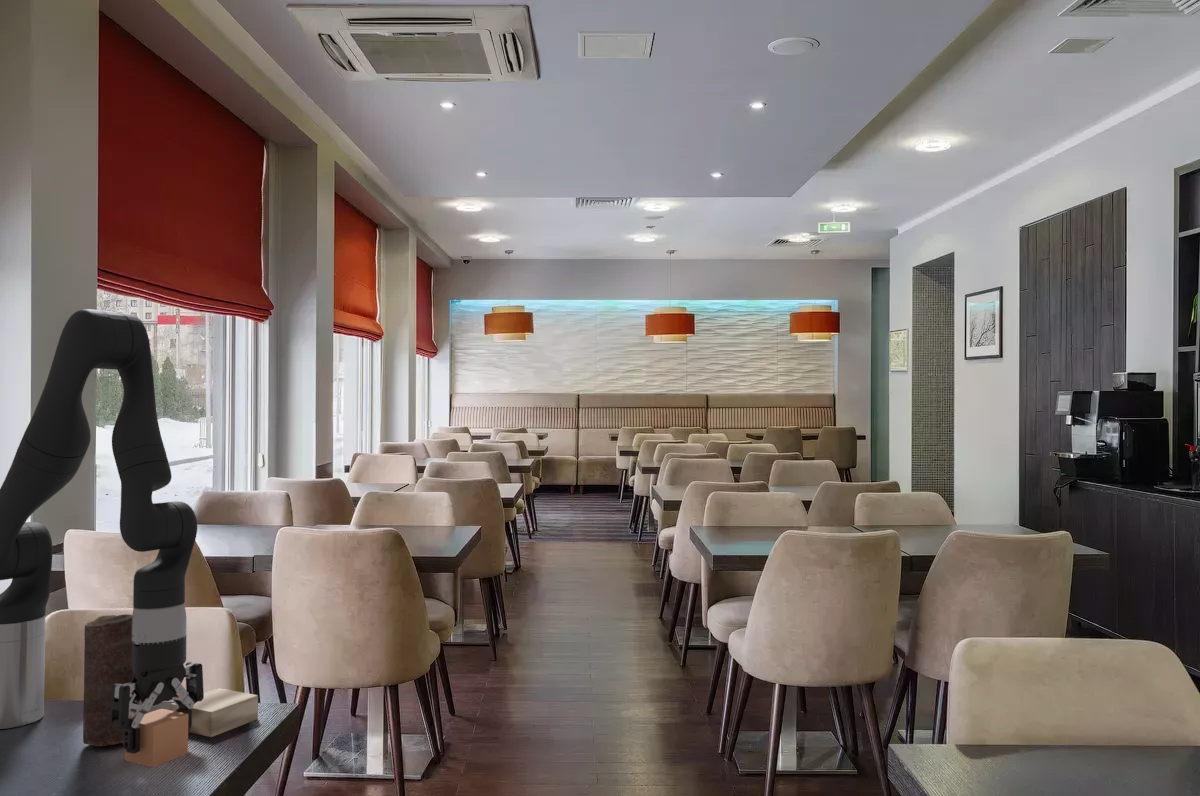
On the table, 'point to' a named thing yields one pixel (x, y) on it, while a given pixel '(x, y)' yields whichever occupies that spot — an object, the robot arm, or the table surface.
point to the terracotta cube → (161, 738)
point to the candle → (105, 675)
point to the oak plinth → (222, 711)
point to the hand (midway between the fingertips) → (158, 742)
